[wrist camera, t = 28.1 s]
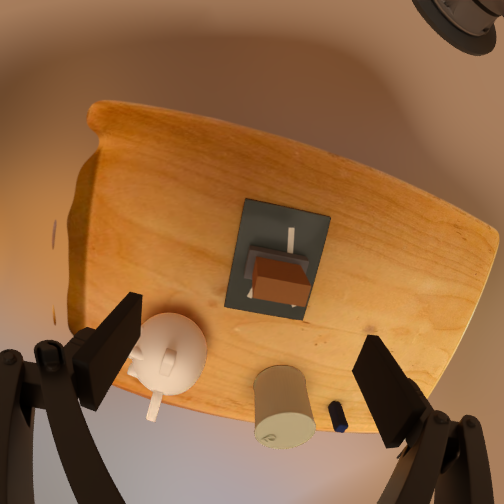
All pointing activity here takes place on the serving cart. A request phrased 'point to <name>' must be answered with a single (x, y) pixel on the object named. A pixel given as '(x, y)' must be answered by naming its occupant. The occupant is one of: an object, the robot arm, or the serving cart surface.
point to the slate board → (276, 238)
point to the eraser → (337, 417)
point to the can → (282, 408)
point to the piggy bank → (168, 357)
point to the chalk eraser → (278, 276)
